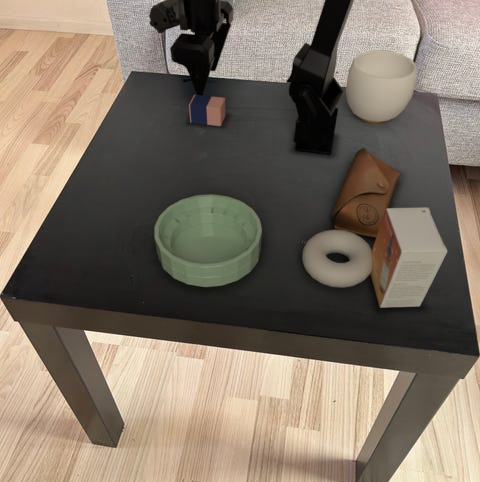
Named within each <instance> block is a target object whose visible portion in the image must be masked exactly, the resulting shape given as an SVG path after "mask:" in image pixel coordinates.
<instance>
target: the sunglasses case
mask: <svg viewBox="0 0 480 482" xmlns="http://www.w3.org/2000/svg"><path fill="white" fill-rule="evenodd" d="M401 175H402V172H401V171H400V170H396V169H395V168H393V167H391V166H390V165H389V164H387V163H385V162H384V161H382V160H381V159H379V158H378V157H376V156H374V155H373V154H372V153H370V152H369V151H368V150H367V148H366V147H362V148H360V149H359V150H358V151H357V152H356V153H355V155H354V158H353V160H352V162H351V164H350V166H349V169H348V171H347V174H346V177H345V179H344V181H343V184H342V187H341V189H340V191H339V194H338V197H337V200H336V202H335V205H334V209H333V211H332V215H331V218H330V223H331V225H332V227H333V228H334V230H344V231H348V232H351V233H354V234H356V235H357V236H360V237H361V236H362V237H367V238H373V239H376V237H377V234H378V231H379V228H380V225H381V222H382V219H383V216H384V213H385V210H386V209H387V208H390V205H391V201H392V198H393V195H394V192H395V189H396V186H397V183H398V181H399V178H401Z"/></svg>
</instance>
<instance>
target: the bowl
mask: <svg viewBox="0 0 480 482" xmlns="http://www.w3.org/2000/svg"><path fill="white" fill-rule="evenodd" d="M262 227H263V226H262V223H261V218H260V217H259V216H258V214H257V213H256V212H255V211H254V209H253V208H252V207H250V206H249V205H247V204H246V203H245V202H243V201H242V200H239V199H236V198H234V197H230V196H228V195H221V194H213V193H212V194H211V193H210V194H196V195H193V196H190V197H186V198H183V199H180V200H178V201H177V202H175V203H173V204H171V205H169V206H167V208H166V209H164V211H163V212H162V213H160V215H159V216H158V218H157V219H156V222H155V224H154V242H155V248H156V254H157V258H158V260H159V261H158V262H159V263H160V265H161V267H162V269H163V270H164V271H165V272H166V273H167V274H168V275H170V276H171V277H172V278H173V279H174V280H177V281H179V282H182V283H184V284H186V285H188V286H189V285H190V286H196V287H201V288H202V287H203V288H210V287H220V286H221V287H222V286H226V285H228V284H231V283H235V282H237V281H239V280H241V279H242V278H244V277H246V275H248V274H250V273H251V272H252V271H253V269H254V268H255V267H256V265H257V264H258V263H259V260H260V256H261V252H262V242H263V241H262V240H263V239H262V237H263V228H262Z"/></svg>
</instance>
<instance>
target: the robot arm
mask: <svg viewBox="0 0 480 482" xmlns="http://www.w3.org/2000/svg"><path fill="white" fill-rule="evenodd" d="M354 2H355V0H324V2H323V5H322V8H321V11H320V15H319V18H318V21H317V23H316V27H315V31H314V33H313V37H312V40H311V43H310V44H309V43H307V42H304V44H303V45H302V46H301V47H300V49H299V51H298V52H297V53H296V54H295V56H294V57H293V59H292V64H291V65H292V66H291V73H290V76H289V77H288V78H287V80H286V81H285V83H286V84H289V85H288V96H289V97H290V99H291V101H292V102H293V103H294V105H295V108H296V112H297V115H296V120H295V127H294V138H293V141H294V143H295V147H294V150H295V151H296V152H302V153H310V154H311V153H312V154H318V155H327V156H330V155H332V153H333V147H334V140H335V132H336V131H335V129H336V124H337V120H338V114H339V113H338V112H339V107H338V104H339V102H340V101H341V99H342V97H343V96H344V94H345V91H344V89H343V88H342V87H341V85H340V84H339V82H338V81H337V80H336V78H335V72H336V66H337V61H338V47H339V43H340V40H341V37H342V35H343V32H344V29H345V26H346V23H347V21H348V19H349V15H350V13H351V11H352V7H353V4H354ZM148 18H149V20H150V21H149V25H150V27H152V28H153V29H154V30H156V32H157V33H158V34H163V33H165V31H168V30H170V29H173V28H176V27H178V26H179V30H180V31H188V30H190V32H191V33H182V32H181V33H180V34H179V35H178V36H177V37H176V39H174V42H173V43H172V44H171V46H170V48H169V49H170V59H171V60H170V61H171V62H173V63H176V64H177V65H179V66H180V65H182V66H183V67H184V68H185V69H186V71H187V73H188V75H189V78H190V81H191V83H192V87H193V88H194V91H195V93H196V94H197V95H200V96H202V95H204V94H205V91H206V87H207V84H208V80H209V77H210V73H211V72H216V70H217V68H218V65H219V62H220V60H221V56H222V53H223V50H224V47H225V45H226V42H227V39H228V36H229V33H230V30H231V28H232V22H233V21H234V7H233V6H232V4H230V2H229V1H226V0H162V1H160V2H158V3H156V4H154V5H153V6H152V7H151V8H150V11H149V13H148ZM224 20H225V22H224Z"/></svg>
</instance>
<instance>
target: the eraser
mask: <svg viewBox="0 0 480 482" xmlns="http://www.w3.org/2000/svg"><path fill="white" fill-rule="evenodd" d="M188 111H189V122H190V123H191V124H195V125H205V126H214V127H221V126H222V125H223V122H224V120H225V118H226V97H219V96H212V95H204V94H203V95H202V96H200V95H197V94H194V95H193V97H192V98H191V100H190V102H189V104H188Z"/></svg>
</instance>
